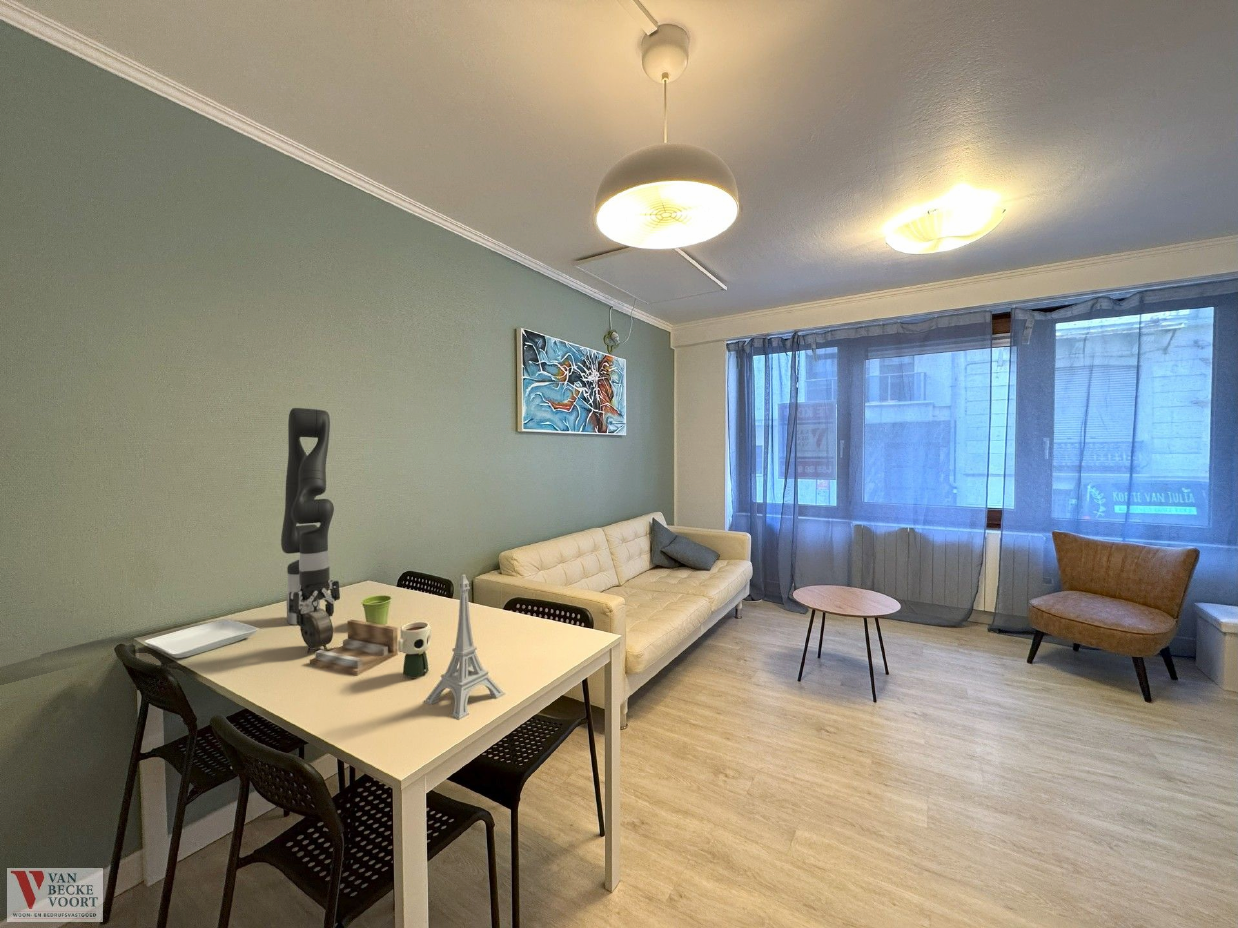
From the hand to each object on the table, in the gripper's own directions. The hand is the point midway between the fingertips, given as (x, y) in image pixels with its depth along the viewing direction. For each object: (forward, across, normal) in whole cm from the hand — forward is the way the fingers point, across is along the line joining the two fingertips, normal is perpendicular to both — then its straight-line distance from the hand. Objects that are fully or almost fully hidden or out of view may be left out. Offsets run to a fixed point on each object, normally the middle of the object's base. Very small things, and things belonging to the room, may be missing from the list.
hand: (315, 620), depth 141 cm
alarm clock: (+9, 0, 0) cm, 9 cm away
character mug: (+10, +1, +39) cm, 40 cm away
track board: (+9, +1, +16) cm, 18 cm away
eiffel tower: (+10, +6, +59) cm, 60 cm away
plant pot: (+9, -22, 0) cm, 24 cm away
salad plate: (+9, +9, -38) cm, 40 cm away
